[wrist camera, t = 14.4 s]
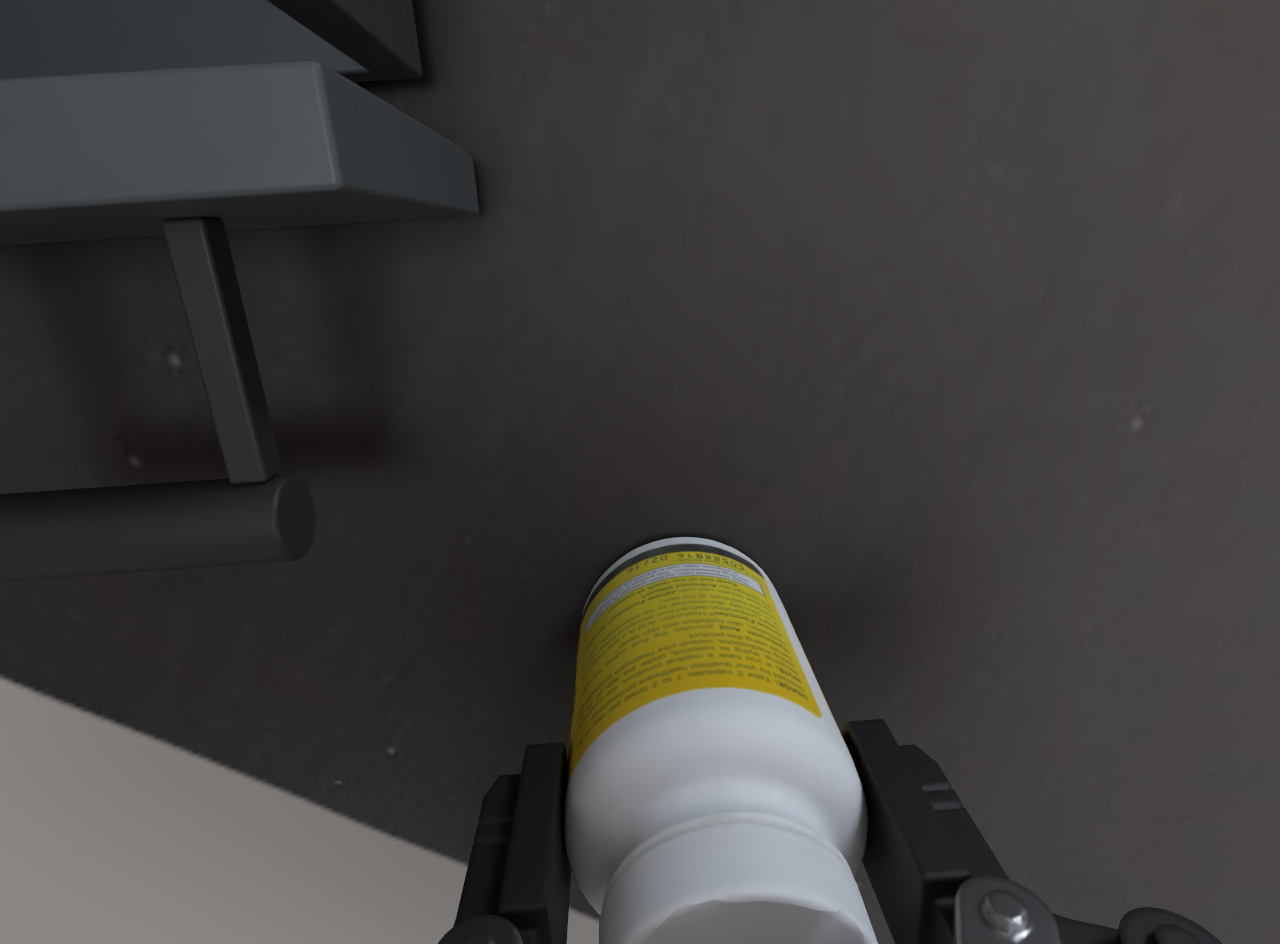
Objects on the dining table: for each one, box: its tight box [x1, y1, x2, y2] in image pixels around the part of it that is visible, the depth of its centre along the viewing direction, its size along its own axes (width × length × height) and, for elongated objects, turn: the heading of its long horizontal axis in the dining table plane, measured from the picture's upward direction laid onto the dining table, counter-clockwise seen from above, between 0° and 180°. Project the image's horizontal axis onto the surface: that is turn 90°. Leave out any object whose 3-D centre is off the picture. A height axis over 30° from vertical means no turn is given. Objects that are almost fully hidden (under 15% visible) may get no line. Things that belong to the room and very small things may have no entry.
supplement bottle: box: [564, 537, 878, 944], centre depth 14 cm, size 5×5×10 cm
